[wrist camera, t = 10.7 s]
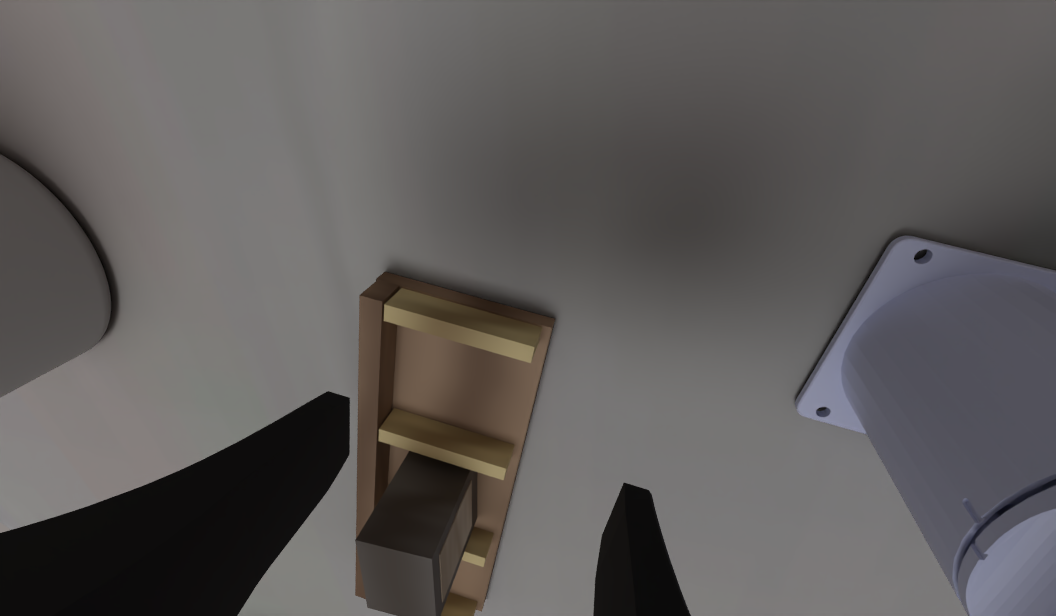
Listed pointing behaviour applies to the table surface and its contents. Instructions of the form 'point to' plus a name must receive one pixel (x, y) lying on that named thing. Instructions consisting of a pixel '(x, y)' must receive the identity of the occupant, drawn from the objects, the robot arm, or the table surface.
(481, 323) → the rack
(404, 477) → the black box
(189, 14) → the table surface
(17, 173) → the cylinder vase
